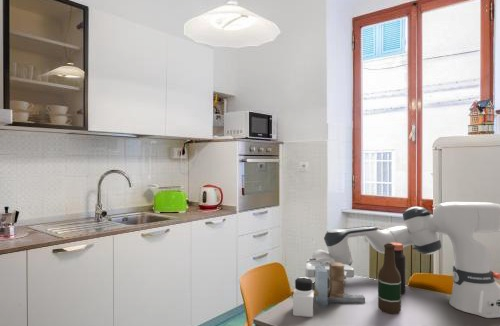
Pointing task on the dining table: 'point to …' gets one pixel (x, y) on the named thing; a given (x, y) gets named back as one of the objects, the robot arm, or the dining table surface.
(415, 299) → the dining table surface
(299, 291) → the medicine bottle
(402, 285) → the vinegar
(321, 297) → the rail and cabinet
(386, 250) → the beer bottle
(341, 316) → the dining table surface
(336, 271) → the carriage
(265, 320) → the dining table surface
